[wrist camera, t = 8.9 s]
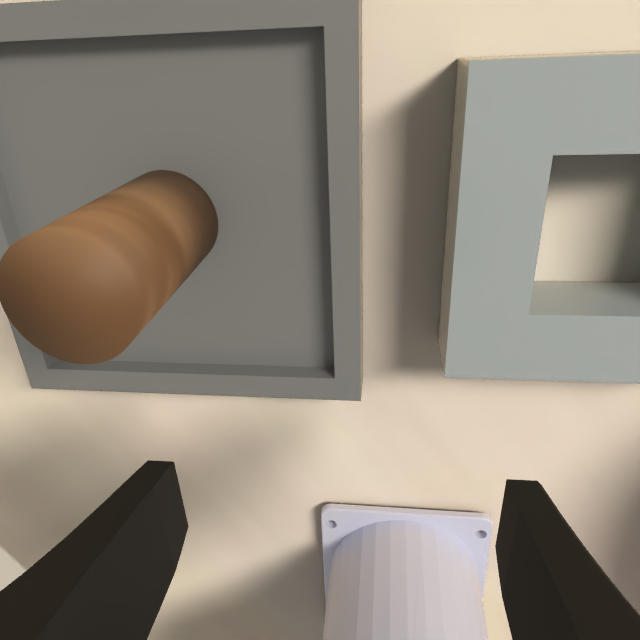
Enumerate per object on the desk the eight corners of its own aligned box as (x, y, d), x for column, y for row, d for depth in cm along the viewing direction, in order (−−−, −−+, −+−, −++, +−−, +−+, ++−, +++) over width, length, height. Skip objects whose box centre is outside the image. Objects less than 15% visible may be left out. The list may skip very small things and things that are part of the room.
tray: (362, 378, 22) (360, 400, 21) (52, 368, 24) (31, 388, 23) (361, -12, 16) (358, -17, 15) (-58, 12, 18) (-97, 9, 16)
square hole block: (711, 345, 20) (756, 387, 18) (438, 338, 21) (444, 377, 19) (812, 44, 15) (892, 43, 13) (458, 58, 17) (469, 60, 14)
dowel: (224, 266, 20) (150, 365, 14) (132, 266, 20) (21, 362, 14) (211, 168, 18) (120, 232, 12) (112, 170, 19) (-24, 233, 13)
